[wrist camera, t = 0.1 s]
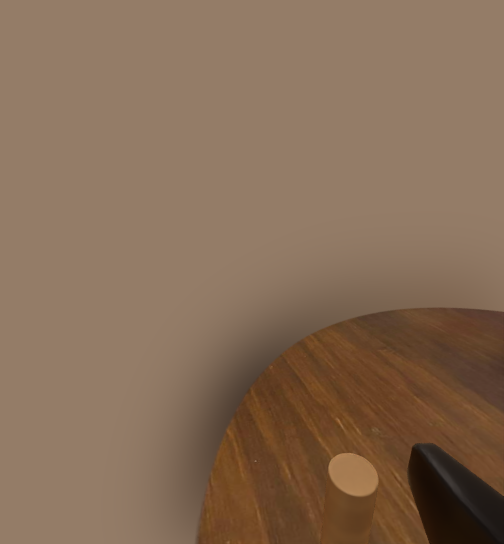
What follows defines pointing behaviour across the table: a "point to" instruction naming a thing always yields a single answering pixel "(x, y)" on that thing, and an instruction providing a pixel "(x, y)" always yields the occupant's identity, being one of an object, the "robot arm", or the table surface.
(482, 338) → the table surface
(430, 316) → the table surface
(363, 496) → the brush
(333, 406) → the table surface
